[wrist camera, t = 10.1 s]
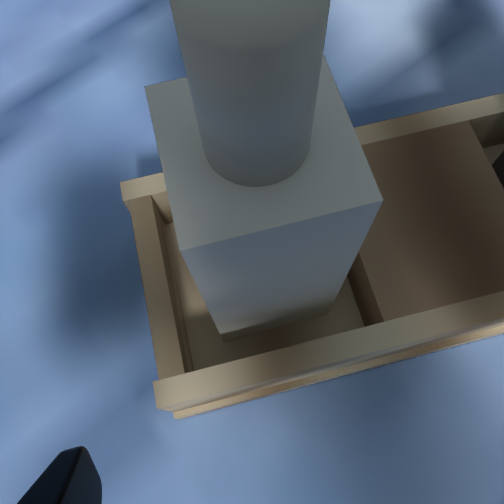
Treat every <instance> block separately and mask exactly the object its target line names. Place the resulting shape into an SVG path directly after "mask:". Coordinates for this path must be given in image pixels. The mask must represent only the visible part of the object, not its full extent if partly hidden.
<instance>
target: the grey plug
mask: <svg viewBox="0 0 504 504" xmlns="http://www.w3.org/2000/svg"><path fill="white" fill-rule="evenodd" d="M170 5H171V10H172V14H173V18H174V23H175V27H176V32H177V36H178V40H179V45H180V49H181V53H182V58H183V62H184V67H185V71H186V75H187V77H184V78H180V79H175V80H171V81H166V82H162V83H158V84H153V85H149V86H145V91H146V96H147V100H148V105H149V110H150V114H151V119H152V124H153V128H154V133H155V138H156V142H157V147H158V152H159V156H160V161H161V166H162V170H163V175H164V180H165V184H166V189H167V194H168V198H169V203H170V208H171V212H172V217H173V222H174V226H175V231H176V236H177V240H178V245H179V250H180V252H181V254H182V257H183V259H184V261H185V263H186V265H187V267H188V269H189V271H190V273H191V275H192V277H193V279H194V281H195V283H196V286H197V288H198V290H199V292H200V294H201V296H202V298H203V300H204V302H205V304H206V306H207V308H208V310H209V312H210V314H211V317H212V319H213V321H214V323H215V325H216V327H217V329H218V331H219V333H220V335H221V337H222V339H223V341H228V340H231V339H235V338H239V337H243V336H247V335H250V334H254V333H258V332H262V331H266V330H269V329H273V328H277V327H281V326H285V325H288V324H292V323H296V322H300V321H304V320H307V319H311V318H315V317H319V316H323V315H326V314H328V313H329V311H330V309H331V307H332V305H333V303H334V301H335V299H336V297H337V295H338V293H339V291H340V289H341V286H342V284H343V282H344V280H345V278H346V276H347V274H348V272H349V270H350V268H351V266H352V264H353V262H354V260H355V258H356V256H357V254H358V251H359V249H360V247H361V245H362V243H363V241H364V239H365V237H366V235H367V233H368V231H369V229H370V227H371V225H372V223H373V221H374V219H375V216H376V214H377V212H378V210H379V208H380V206H381V204H382V202H383V198H382V196H381V193H380V191H379V188H378V186H377V183H376V181H375V179H374V176H373V174H372V171H371V169H370V166H369V164H368V162H367V159H366V157H365V154H364V152H363V149H362V147H361V144H360V142H359V140H358V137H357V135H356V132H355V130H354V127H353V125H352V122H351V120H350V118H349V115H348V113H347V110H346V108H345V105H344V103H343V101H342V98H341V96H340V93H339V91H338V88H337V86H336V83H335V81H334V79H333V76H332V74H331V71H330V69H329V66H328V64H327V62H326V59H325V57H324V54H323V49H324V42H325V35H326V28H327V21H328V14H329V7H330V0H170Z"/></svg>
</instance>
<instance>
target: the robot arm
mask: <svg viewBox="0 0 504 504" xmlns="http://www.w3.org/2000/svg"><path fill="white" fill-rule="evenodd" d="M17 504H102V484H101V479H100V476H99V474H98V472H97V470H96V467H95V465H94V463H93V461H92V459H91V456H90V454H89V452H88V450H87V449H86V448H85V447H83V446H79V447H75V448H71V449H68V450H64V451H62V452H61V453H60V454H58V456H57V457H56V458H55V459H54V460H53V461H52V463H51V464H50V465H49V466H48V467H47V469H46V470H45V471H44V472H43V473H42V474H41V476H40V477H39V478H38V479H37V480H36V482H35V483H34V484H33V485H32V486H31V487H30V489H29V490H28V491H27V492H26V493H25V495H24V496H23V497H22V498H21V499H20V500H19V502H18V503H17Z"/></svg>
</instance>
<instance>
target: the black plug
mask: <svg viewBox="0 0 504 504" xmlns="http://www.w3.org/2000/svg"><path fill="white" fill-rule="evenodd" d="M492 167H493V169H494V171H495V173H496V175H497V177H498V179H499V181H500V183H501V184H502V186H503V188H504V151H503V152H502V153H501V154H500V155H499V157H498V158H497V159H496V160H495V161H494V163H493V164H492Z"/></svg>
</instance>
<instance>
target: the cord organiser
mask: <svg viewBox="0 0 504 504" xmlns="http://www.w3.org/2000/svg"><path fill="white" fill-rule="evenodd" d="M354 130H355V132H356V135H357V137H358V140H359V142H360V144H361V147H362V149H363V152H364V154H365V157H366V159H367V162H368V164H369V166H370V169H371V171H372V174H373V176H374V179H375V181H376V183H377V186H378V188H379V191H380V193H381V196H382V198H383V202H382V204H381V206H380V208H379V210H378V212H377V214H376V216H375V219H374V221H373V223H372V225H371V227H370V229H369V231H368V233H367V235H366V237H365V239H364V241H363V243H362V245H361V247H360V249H359V251H358V254H357V256H356V258H355V260H354V262H353V264H352V266H351V268H350V270H349V272H348V274H347V276H346V278H345V280H344V282H343V284H342V286H341V289H340V291H339V293H338V295H337V297H336V299H335V301H334V303H333V305H332V307H331V309H330V311H329V313H328V314H326V315H323V316H319V317H315V318H311V319H307V320H304V321H300V322H296V323H292V324H288V325H285V326H281V327H277V328H273V329H269V330H266V331H262V332H258V333H254V334H250V335H247V336H243V337H239V338H235V339H231V340H228V341H223V339H222V337H221V335H220V333H219V331H218V329H217V327H216V325H215V323H214V321H213V319H212V317H211V314H210V312H209V310H208V308H207V306H206V304H205V302H204V300H203V298H202V296H201V294H200V292H199V290H198V288H197V286H196V283H195V281H194V279H193V277H192V275H191V273H190V271H189V269H188V267H187V265H186V263H185V261H184V259H183V257H182V254H181V252H180V250H179V245H178V240H177V236H176V231H175V226H174V222H173V217H172V212H171V208H170V203H169V198H168V194H167V189H166V184H165V180H164V175H163V172H161V173H157V174H153V175H148V176H144V177H140V178H136V179H131V180H127V181H123V182H120V187H121V193H122V199H123V202H124V204H125V205H126V207H127V209H128V210H129V212H130V213H131V218H132V224H133V230H134V236H135V242H136V247H137V253H138V259H139V265H140V271H141V277H142V283H143V288H144V294H145V300H146V306H147V312H148V318H149V324H150V330H151V335H152V341H153V347H154V353H155V359H156V365H157V371H158V376H159V380H158V381H154V382H153V387H154V393H155V399H156V405H157V409H161V410H165V411H169V412H173V414H174V418H175V419H182V418H186V417H190V416H194V415H198V414H201V413H205V412H209V411H213V410H216V409H220V408H224V407H228V406H232V405H235V404H239V403H243V402H247V401H250V400H254V399H258V398H262V397H265V396H269V395H273V394H277V393H281V392H284V391H288V390H292V389H296V388H299V387H303V386H307V385H311V384H315V383H318V382H322V381H326V380H330V379H333V378H337V377H341V376H345V375H349V374H352V373H356V372H360V371H364V370H367V369H371V368H375V367H379V366H383V365H386V364H390V363H394V362H398V361H401V360H405V359H409V358H413V357H416V356H420V355H424V354H428V353H432V352H435V351H439V350H443V349H447V348H450V347H454V346H458V345H462V344H466V343H469V342H473V341H477V340H481V339H484V338H488V337H492V336H496V335H500V334H503V333H504V188H503V186H502V184H501V183H500V181H499V179H498V177H497V175H496V173H495V171H494V169H493V167H492V164H493V163H494V161H495V160H496V159H497V158H498V157H499V155H500V154H501V153H502V152H503V151H504V93H501V94H497V95H492V96H488V97H484V98H479V99H475V100H471V101H466V102H462V103H458V104H454V105H449V106H445V107H441V108H436V109H432V110H428V111H424V112H419V113H415V114H411V115H406V116H402V117H398V118H393V119H389V120H385V121H381V122H376V123H372V124H368V125H363V126H359V127H355V128H354Z"/></svg>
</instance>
